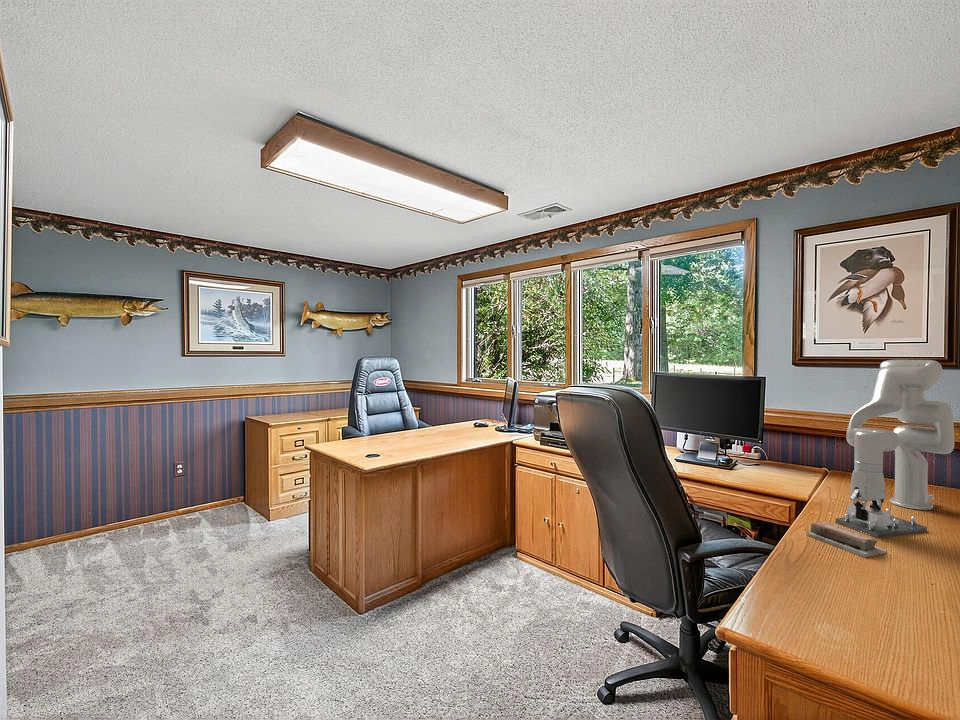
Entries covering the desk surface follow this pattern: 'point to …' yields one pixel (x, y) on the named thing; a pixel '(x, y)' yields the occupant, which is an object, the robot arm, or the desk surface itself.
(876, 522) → the block
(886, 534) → the tray
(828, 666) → the desk surface
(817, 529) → the packaged product
